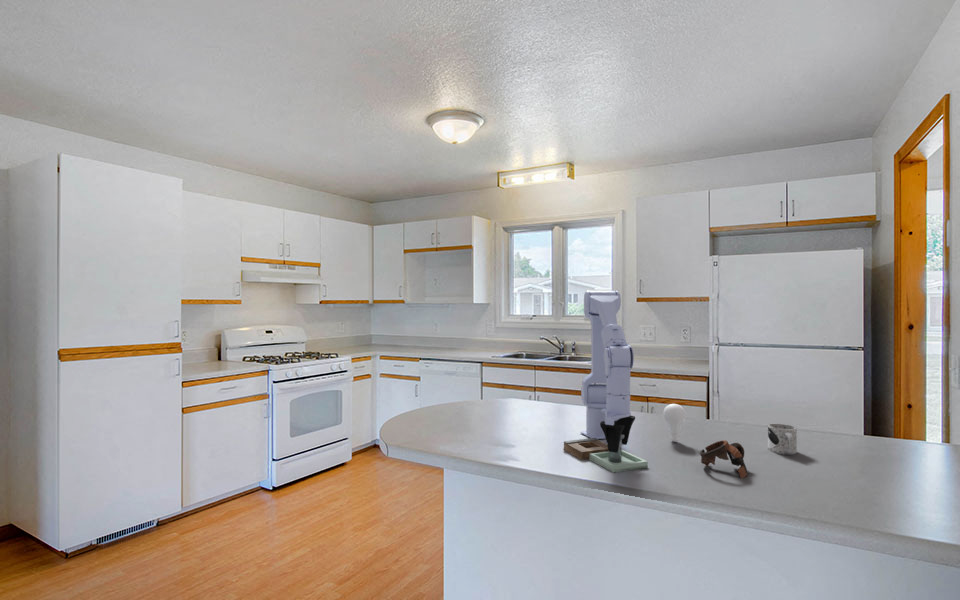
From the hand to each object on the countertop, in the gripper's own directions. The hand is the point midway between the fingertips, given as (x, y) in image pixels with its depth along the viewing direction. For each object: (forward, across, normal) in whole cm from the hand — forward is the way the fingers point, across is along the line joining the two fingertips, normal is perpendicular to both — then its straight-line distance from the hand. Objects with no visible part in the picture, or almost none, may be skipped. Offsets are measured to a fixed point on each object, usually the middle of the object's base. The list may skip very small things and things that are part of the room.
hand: (618, 447), depth 122 cm
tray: (+4, 0, 0) cm, 4 cm away
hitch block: (+4, -4, -9) cm, 11 cm away
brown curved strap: (+4, -10, +24) cm, 26 cm away
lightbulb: (+4, -28, +8) cm, 29 cm away
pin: (+3, 0, -1) cm, 3 cm away
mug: (+4, -34, +35) cm, 49 cm away
